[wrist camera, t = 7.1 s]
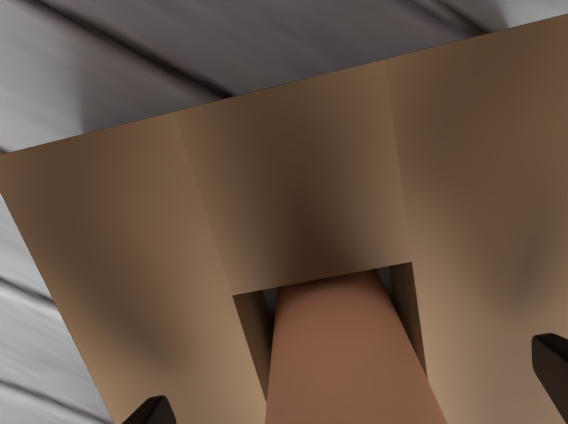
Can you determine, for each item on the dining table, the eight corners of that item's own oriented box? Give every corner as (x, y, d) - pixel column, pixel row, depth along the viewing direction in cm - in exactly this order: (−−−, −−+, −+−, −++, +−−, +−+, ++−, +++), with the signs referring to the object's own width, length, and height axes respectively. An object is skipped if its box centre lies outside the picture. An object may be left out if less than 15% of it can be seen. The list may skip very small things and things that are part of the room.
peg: (385, 318, 13) (507, 620, 6) (290, 335, 14) (283, 641, 6) (370, 229, 12) (494, 453, 5) (267, 250, 12) (222, 491, 5)
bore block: (511, 32, 11) (630, -2, 7) (523, 394, 15) (601, 498, 11) (81, 138, 12) (-17, 159, 8) (203, 441, 16) (175, 546, 12)
